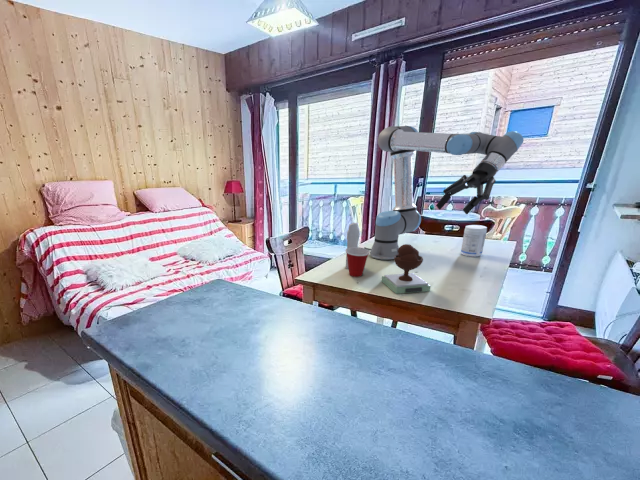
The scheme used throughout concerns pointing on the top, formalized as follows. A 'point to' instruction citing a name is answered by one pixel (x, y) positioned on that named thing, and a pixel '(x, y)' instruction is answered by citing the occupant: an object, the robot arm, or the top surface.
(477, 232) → the supplement tub
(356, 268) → the plastic cup
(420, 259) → the ice cream bowl
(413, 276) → the scale
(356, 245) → the tall pale column
